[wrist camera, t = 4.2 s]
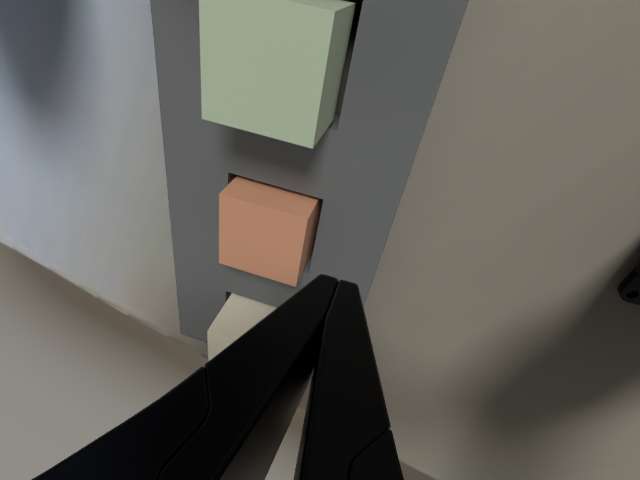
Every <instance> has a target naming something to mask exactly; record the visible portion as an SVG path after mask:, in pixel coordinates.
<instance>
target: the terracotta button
mask: <svg viewBox="0 0 640 480" xmlns="http://www.w3.org/2000/svg"><path fill="white" fill-rule="evenodd" d="M322 202H323V199H320V198H316V197H313V196H309V195H306V194H302V193H299V192H295V191H292V190H288V189H285V188H281V187H278V186H274V185H271V184H267V183H264V182H260V181H256V180H253V179H249V178H246V177H242V176H239V175H237V176H236V177H235V178H234V179H233V180H232V181H231V182H230V183H229V184H228V185H227V186H226V187H225V188H224V189H223V190H222V191H221V192H220V193H219V263H220V264H224V265H227V266H230V267H233V268H236V269H240V270H243V271H246V272H249V273H253V274H256V275H259V276H262V277H265V278H269V279H272V280H275V281H278V282H281V283H285V284H288V285H291V286H294V287H296V286H297V283H298V281H299V279H300V277H301V275H302V273H303V270H304V268H305V266H306V264H307V262H308V260H309V258H310V255H311V253H312V251H313V248H314V243H315V238H316V233H317V228H318V222H319V217H320V212H321V207H322Z"/></svg>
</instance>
